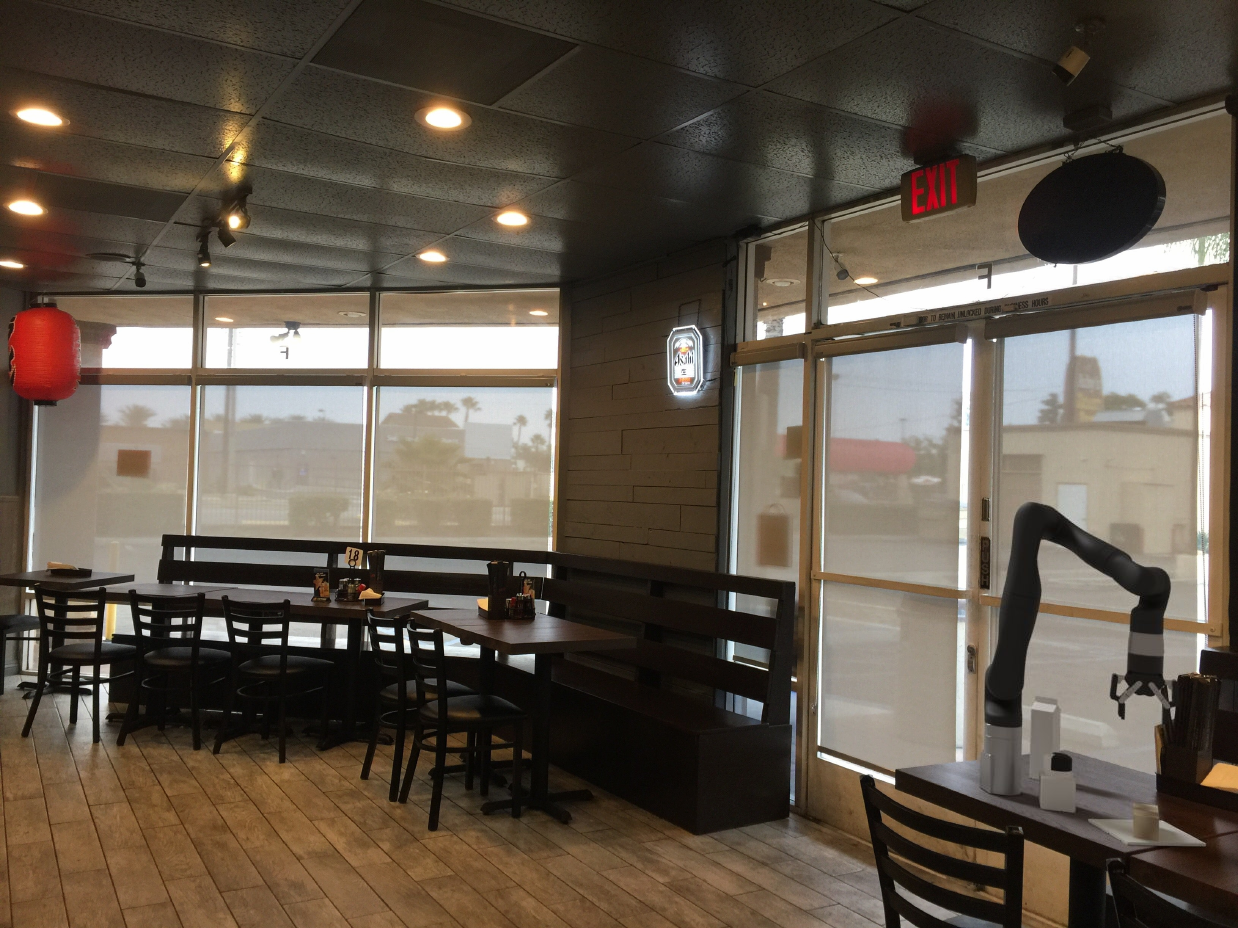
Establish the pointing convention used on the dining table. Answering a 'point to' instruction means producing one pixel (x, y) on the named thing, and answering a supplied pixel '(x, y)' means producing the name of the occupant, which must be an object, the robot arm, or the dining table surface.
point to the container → (1057, 783)
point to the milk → (1043, 732)
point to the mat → (1125, 834)
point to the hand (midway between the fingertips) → (1142, 721)
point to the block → (1145, 821)
